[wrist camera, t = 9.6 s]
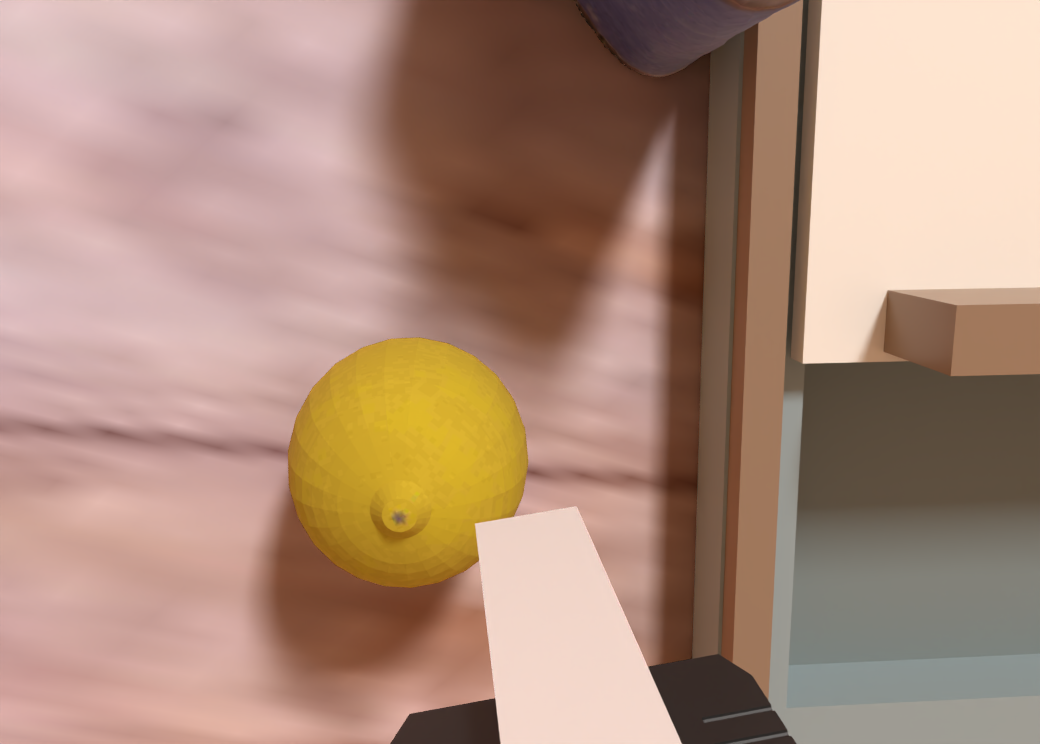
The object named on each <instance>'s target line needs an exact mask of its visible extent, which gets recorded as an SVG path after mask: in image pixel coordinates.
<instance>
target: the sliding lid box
mask: <svg viewBox="0 0 1040 744" xmlns="http://www.w3.org/2000/svg"><path fill="white" fill-rule="evenodd" d="M808 4H809V0H800V1H798V2H796V3H794V4H793V5H791V6H789V7H787V8H784V9H782V10H780V11H778V12H776V13H774V14H772V15H771V16H769V17H768V18H766V19H764V20H763V21H761V22H759V23H757V24H755V25H753V26H752V27H750V28H748V29H747V30H745V31H743V32H741V33H739V34H736V35H735V36H733V37H732V38H730V39H729V40H727V41H726V42H725V44H724V45H722V46H720V47H719V48H717V49H715V50H713V51H711V56H710V89H709V122H708V154H707V187H706V220H705V252H704V285H703V318H702V351H701V383H700V416H699V449H698V481H697V514H696V547H695V579H694V612H693V645H692V659H693V658H699V657H704V656H710V655H715V654H719V655H721V656H722V657H724V658H726V659H727V660H729V661H730V662H732V663H733V664H735V665H737V666H738V667H740V668H741V669H743V670H745V671H746V672H748V673H749V674H751V675H752V676H753V677H754V679H755V681H756V682H757V684H758V685H759V687H760V688H761V690H762V691H763V693H764V694H765V696H766V697H767V699H768V701H769V702H770V704H771V707H772V710H773V711H776V713H777V714H778V716H779V717H780V719H781V721H782V722H783V724H784V725H785V727H786V728H787V731H788V735H789V736H792V738H793V739H794V741H795V742H796V744H1040V374H1021V375H981V376H949V375H946V374H943V373H940V372H938V371H935V370H932V369H930V368H927V367H924V366H921V365H919V364H916V363H913V362H910V361H893V362H850V363H808V364H802V363H800V362H798V361H796V360H794V359H792V358H791V339H792V319H793V300H794V280H795V260H796V241H797V221H798V201H799V181H800V162H801V142H802V122H803V103H804V83H805V63H806V43H807V24H808Z"/></svg>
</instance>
